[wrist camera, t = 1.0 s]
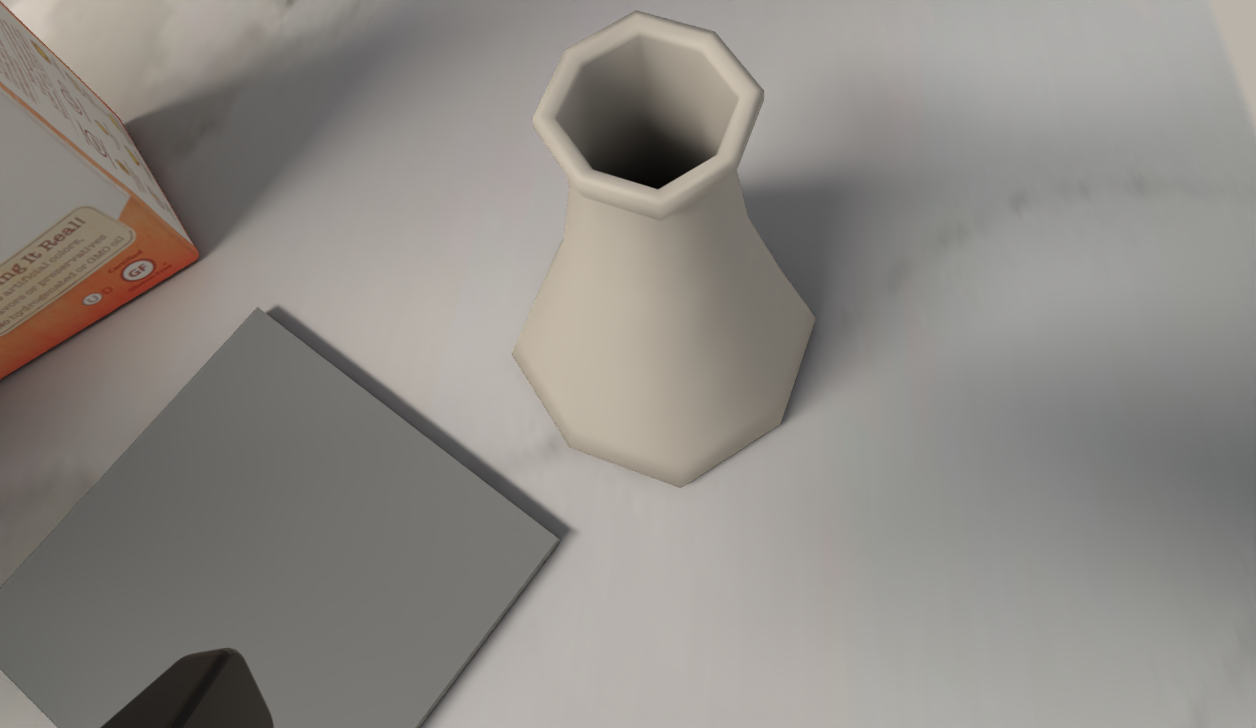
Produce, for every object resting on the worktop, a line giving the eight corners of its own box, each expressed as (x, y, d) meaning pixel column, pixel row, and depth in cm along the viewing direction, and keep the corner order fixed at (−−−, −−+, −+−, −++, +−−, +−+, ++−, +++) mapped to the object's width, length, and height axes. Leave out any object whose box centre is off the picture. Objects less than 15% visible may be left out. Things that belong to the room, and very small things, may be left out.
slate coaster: (560, 540, 20) (558, 538, 20) (268, 926, 18) (260, 932, 18) (264, 312, 23) (257, 306, 22) (-25, 630, 21) (-39, 630, 20)
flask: (687, 544, 20) (690, 447, 11) (464, 363, 22) (299, 145, 13) (864, 318, 22) (1002, 60, 12) (642, 165, 24) (614, -161, 14)
